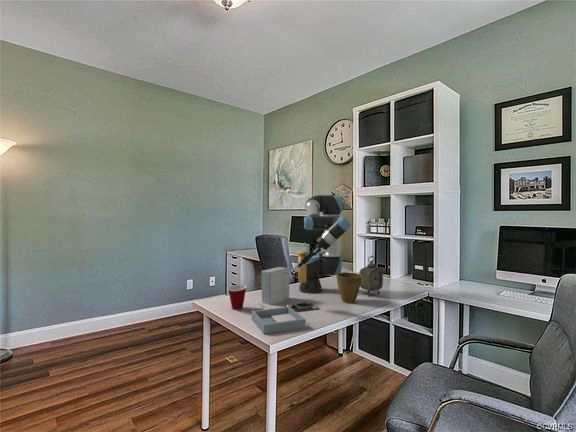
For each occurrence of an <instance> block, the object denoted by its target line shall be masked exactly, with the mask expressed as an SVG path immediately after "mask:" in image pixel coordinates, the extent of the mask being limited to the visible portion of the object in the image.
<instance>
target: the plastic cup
mask: <svg viewBox="0 0 576 432" xmlns="http://www.w3.org/2000/svg"><path fill="white" fill-rule="evenodd" d="M247 287H248V286H247V285H245V284H235V285H229V286H228V287H227V288H226V290H227V292H228V294H229V299H230V304H231V305H230V306H231V310H234V311H241V310H243V309H244V302H245V295H246V291H247Z"/></svg>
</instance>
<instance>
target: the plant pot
mask: <svg viewBox="0 0 576 432" xmlns="http://www.w3.org/2000/svg"><path fill="white" fill-rule="evenodd" d="M335 276H336V282H337V288H338V291H339V295H340V298H341V301H342V302H343V303H346V304H354V303H355V302H356V300H357V298H358V294H359V291H360V288H361V287H360V284H361V278H362V275H360V274H359V273H355V272H351V271H350V272H348V271H345V272H341V273H338V274H336V275H335Z"/></svg>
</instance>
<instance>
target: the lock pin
mask: <svg viewBox="0 0 576 432" xmlns="http://www.w3.org/2000/svg"><path fill="white" fill-rule="evenodd" d="M308 254H309V252H308V251H304V250H303V251H301V250H299V251H297V252H296V255H297V256H298V257H297V258H298V259H297V260H298V263H299V262H300V261H301V260H302V259H304V258H305V257H306V256H307V255H308ZM298 263H297V264H298ZM297 278H298V280H297V282H298V283H301V282H302V283H303V282H306V264H305V265H304V266H303V267H301V268H300V269H299V270H298V271H297Z"/></svg>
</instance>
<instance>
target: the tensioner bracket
mask: <svg viewBox="0 0 576 432" xmlns="http://www.w3.org/2000/svg"><path fill="white" fill-rule="evenodd" d="M284 307H290V308H291V309H293V310H294V311H295V312H297V313H302V312H310V311H319V310H321V308H319V306H318V305H315V304H313V303H312V302H308V303H307V302H306V301H305V302H304V301H303V302H295V303H289V304H286V305H284Z"/></svg>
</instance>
